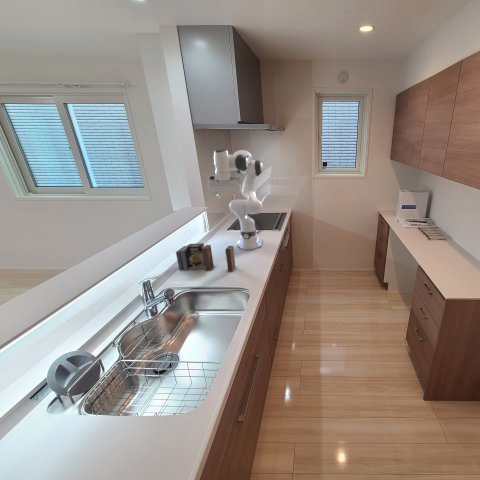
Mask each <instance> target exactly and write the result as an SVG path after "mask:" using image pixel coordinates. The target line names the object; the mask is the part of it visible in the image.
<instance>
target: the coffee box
mask: <svg viewBox="0 0 480 480" xmlns="http://www.w3.org/2000/svg"><path fill="white" fill-rule="evenodd" d="M187 245H188V246H187ZM187 245H186V246H187V251H188V257H189V262H190V268H189V269H190V270H198V269H205V264H204V257H203V251H202V248H203V247H204V246H205V243H189V244H187Z"/></svg>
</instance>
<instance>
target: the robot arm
mask: <svg viewBox="0 0 480 480" xmlns="http://www.w3.org/2000/svg"><path fill="white" fill-rule="evenodd" d="M251 153H252V152H250V151H249V150H246V149H238V150H236V151H235V152H233V154H229V151H228V150H227V149H226V148H218V149H215V150H214V151H213V163H214V167H215V171H214V174H211V175H209V176H207V180H208V181H207V191H208V192H210V193H214V195H215V196H216V199H217V200H221V195H219V193H232V194H233V195H232V196H231V200H230V202H229V204H228V207H229V208H228V209H229V211H230V212H231V213H232V214H234V215H235V216H236V218H237V219H238V222H239V226H240V236H239V239H238V241H237V242H236V244H237V247H238V248H240V249H241V250H246V251H247V250H250V251H251V250H254V249H258V248H261V247H262V240H263V239H260V237H259V233H260V231H261V229H262V226H261V224H260V222H259V220H258V219H256V222H257V224H258V226H259V230H258V231H257V227H256V222H255V220H254V218H252V217H250V216H249V215H257V214H261V213H262V212H263V210H264V204H263V203H262V202H261V200H259V198H258V197H257V189H258V177H260V175H261V174H262V173H263V171H264V165H263V162H262V161H261V160H259V159H253V156H252V154H251ZM231 171H235V172H236V173H237V174H240V175H245V177H244V179H243V182H242V180H241V178H240V177H238V176H236V177H235V176H232V172H231ZM237 193H241V195H242V196H243V197H244V198H246V199H243V198H241V199H239V198H237V199H236V195H237Z"/></svg>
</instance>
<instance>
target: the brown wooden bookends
mask: <svg viewBox="0 0 480 480" xmlns="http://www.w3.org/2000/svg"><path fill="white" fill-rule="evenodd" d="M234 249H235V248H234V245H228V246H227V247H225V258H226V267H227V271H228V272H233V271H234V270H235V269H236V259H235V250H234ZM202 251H203V257H204V264H205V268H204V270H205V271H206V272H207V271H209V272H210V271H211V270H212V269H213V268H214V267H215V264H214V259H213V252H212V245H211V244H205V245H204V247H203V248H202Z"/></svg>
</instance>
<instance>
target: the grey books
mask: <svg viewBox="0 0 480 480" xmlns="http://www.w3.org/2000/svg"><path fill="white" fill-rule="evenodd" d="M188 245H189V244H187V245H183V246H182V247H180V248H179V249H177V250H175V255H176V261H177V265H178V269H179V270H180V271H183V270H184V271H189V269H191V268H190V262H189V257H188V251H187V246H188Z"/></svg>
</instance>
